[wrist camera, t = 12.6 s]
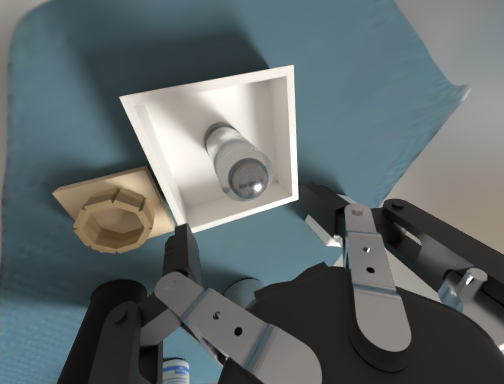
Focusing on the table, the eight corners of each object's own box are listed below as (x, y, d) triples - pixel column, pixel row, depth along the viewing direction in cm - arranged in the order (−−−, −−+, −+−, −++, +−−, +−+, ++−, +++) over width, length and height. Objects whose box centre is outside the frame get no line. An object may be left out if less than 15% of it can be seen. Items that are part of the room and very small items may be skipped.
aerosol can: (82, 307, 32) (-24, 545, 16) (105, 274, 31) (14, 500, 14) (133, 314, 37) (93, 508, 20) (156, 285, 35) (133, 469, 18)
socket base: (174, 224, 30) (173, 244, 27) (104, 245, 29) (93, 270, 25) (146, 165, 25) (140, 180, 21) (59, 187, 23) (35, 207, 20)
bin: (280, 181, 33) (298, 199, 28) (183, 210, 30) (183, 236, 25) (270, 68, 24) (293, 64, 19) (133, 93, 21) (119, 96, 16)
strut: (239, 122, 25) (288, 154, 14) (238, 157, 27) (280, 210, 16) (202, 122, 24) (221, 157, 12) (204, 158, 26) (223, 218, 14)
